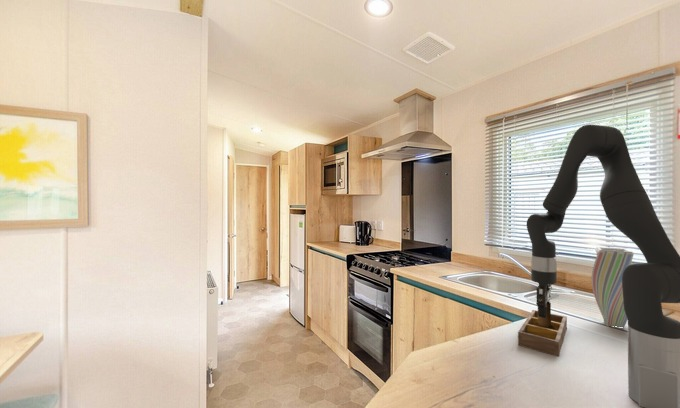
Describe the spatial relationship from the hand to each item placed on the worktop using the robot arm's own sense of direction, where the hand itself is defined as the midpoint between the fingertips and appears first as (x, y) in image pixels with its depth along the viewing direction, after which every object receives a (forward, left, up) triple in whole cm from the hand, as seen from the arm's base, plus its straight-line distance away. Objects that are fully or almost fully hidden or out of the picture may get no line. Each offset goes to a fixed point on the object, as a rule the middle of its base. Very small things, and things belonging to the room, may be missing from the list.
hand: (543, 313), depth 105 cm
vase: (+30, -19, -8) cm, 36 cm away
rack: (0, 0, -8) cm, 8 cm away
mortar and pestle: (0, 0, -7) cm, 7 cm away
